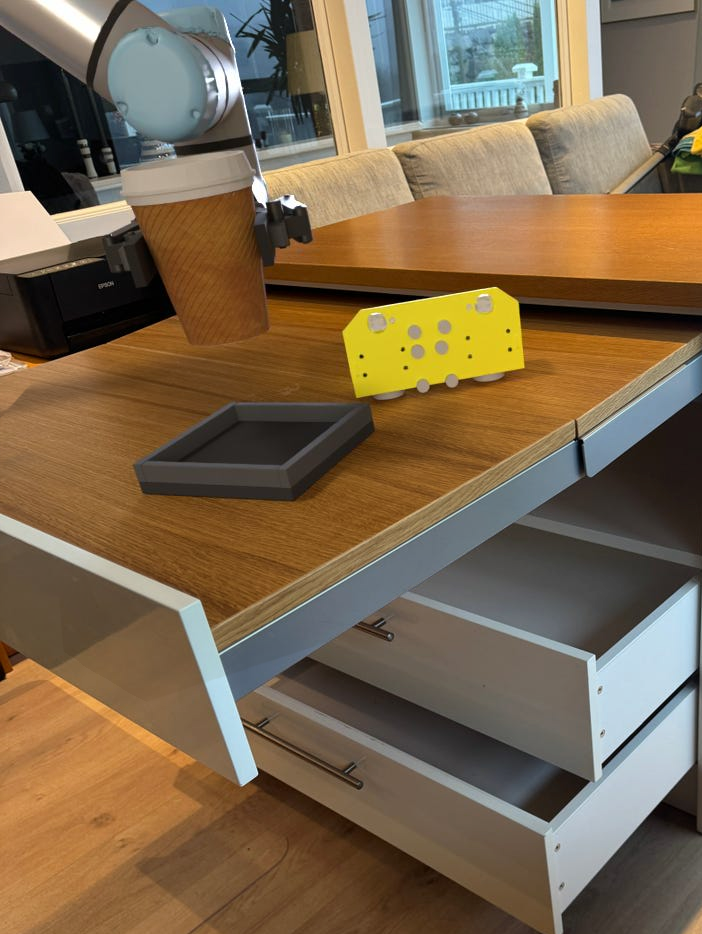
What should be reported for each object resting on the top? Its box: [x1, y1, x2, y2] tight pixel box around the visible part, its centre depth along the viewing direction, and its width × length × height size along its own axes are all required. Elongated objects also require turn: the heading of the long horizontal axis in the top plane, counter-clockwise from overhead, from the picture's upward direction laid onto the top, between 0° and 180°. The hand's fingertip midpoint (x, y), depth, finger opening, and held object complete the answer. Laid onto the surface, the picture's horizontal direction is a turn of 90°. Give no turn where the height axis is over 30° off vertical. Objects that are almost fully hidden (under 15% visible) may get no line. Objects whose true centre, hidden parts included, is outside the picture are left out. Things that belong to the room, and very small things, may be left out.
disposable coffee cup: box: [119, 151, 271, 348], centre depth 66 cm, size 10×10×12 cm
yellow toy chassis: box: [341, 286, 525, 401], centre depth 83 cm, size 16×6×8 cm, turn 101°
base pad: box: [132, 401, 376, 502], centre depth 73 cm, size 14×14×2 cm
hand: (200, 255), depth 62 cm, fingers closed on disposable coffee cup, 8 cm apart
